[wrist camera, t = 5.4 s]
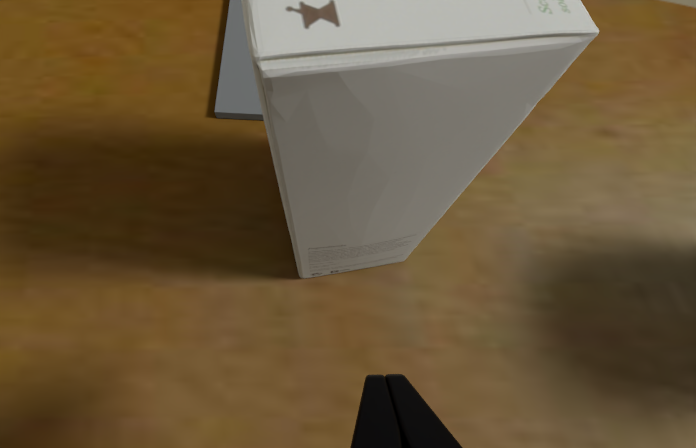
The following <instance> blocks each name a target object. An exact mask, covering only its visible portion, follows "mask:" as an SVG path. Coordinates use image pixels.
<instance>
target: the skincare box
mask: <svg viewBox="0 0 696 448" xmlns="http://www.w3.org/2000/svg"><path fill="white" fill-rule="evenodd" d="M241 2H242V9H243V17H244V23H245V30H246V36H247V42H248V48H249V52H250V56H251V60H252V65H253V71H254V76H255V81H256V85H257V90H258V95H259V100H260V104H261V109H262V114H263V118H264V123H265V127H266V131H267V136H268V140H269V145H270V149H271V154H272V158H273V163H274V168H275V172H276V177H277V181H278V185H279V190H280V194H281V199H282V203H283V207H284V212H285V216H286V220H287V225H288V229H289V233H290V237H291V241H292V246H293V250H294V255H295V260H296V264H297V269H298V273H299V276H300V277H301V278H310V277H317V276H323V275H329V274H335V273H341V272H347V271H352V270H358V269H363V268H369V267H375V266H380V265H386V264H391V263H396V262H402V261H404V260H405V259H406V258H407V257H408V256H409V254H410V253H411V252H412V251H413V250H414V249H415V247H416V246H417V245H418V244H419V243H420V241H421V240H422V239H423V238H424V237H425V235H426V234H427V233H428V232H429V231H430V230H431V228H432V227H433V226H434V225H435V224H436V223H437V221H438V220H439V219H440V218H441V217H442V216H443V215H444V213H445V212H446V211H447V210H448V208H449V207H450V206H451V205H452V204H453V203H454V201H455V200H456V199H457V198H458V197H459V195H460V194H461V193H462V192H463V191H464V190H465V188H466V187H467V186H468V185H469V184H470V183H471V181H472V180H473V179H474V178H475V177H476V175H477V174H478V173H479V172H480V171H481V170H482V168H483V167H484V166H485V165H486V164H487V163H488V161H489V160H490V159H491V158H492V157H493V156H494V155H495V153H496V152H497V151H498V150H499V149H500V148H501V147H502V145H503V144H504V143H505V142H506V140H507V139H508V138H509V137H510V136H511V134H512V133H513V132H514V131H515V130H516V128H517V127H518V126H519V125H520V124H521V123H522V122H523V121H524V119H525V118H526V117H527V116H528V114H529V113H530V112H531V111H532V109H533V108H534V107H535V105H536V104H537V102H538V101H539V100H540V99H542V98H543V97H544V95H545V94H546V93H547V92H548V91H549V90H550V89H551V88H552V86H553V85H554V84H555V83H556V81H557V80H558V79H559V78H560V77H561V76H562V75H563V73H564V72H565V71H566V70H567V69H568V68H569V66H570V65H571V64H572V63H573V62H574V60H575V59H576V58H577V57H578V56H579V55H580V53H581V52H582V51H583V50H584V49H585V48H586V46H587V45H588V44H589V43H590V42H591V41H592V40H593V39H594V38H595V37H596V36H597V35H598V33H599V29H598V28H597V27H596V25H595V24H594V22H593V21H592V19H591V17H590V15H589V14H588V12H587V10H586V8H585V7H584V5H583V4H582V2H581V0H241Z"/></svg>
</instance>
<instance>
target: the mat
mask: <svg viewBox="0 0 696 448" xmlns="http://www.w3.org/2000/svg"><path fill="white" fill-rule="evenodd" d="M214 112H215V115H216V117H217V118H228V119H248V120H264V118H263V114H262V109H261V104H260V100H259V95H258V90H257V85H256V81H255V76H254V71H253V65H252V60H251V56H250V52H249V48H248V42H247V36H246V30H245V23H244V17H243V9H242V2H241V0H230V3H229V10H228V18H227V25H226V32H225V39H224V46H223V54H222V61H221V68H220V75H219V82H218V90H217V97H216V104H215V111H214Z"/></svg>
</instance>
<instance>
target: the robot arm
mask: <svg viewBox="0 0 696 448" xmlns="http://www.w3.org/2000/svg"><path fill="white" fill-rule="evenodd" d="M351 448H462V447H461V445H460V444H459V443H458V442H457V440H456V439H455V438H454V437H453V435H452V434H451V433H450V432H449V431H448V429H447V428H446V427H445V426H444V424H443V423H442V422H441V421H440V419H439V418H438V417H437V416H436V414H435V413H434V412H433V411H432V409H431V408H430V407H429V406H428V404H427V403H426V402H425V401H424V399H423V398H422V397H421V396H420V395H419V393H418V392H417V391H416V390H415V388H414V387H413V386H412V385H411V383H410V382H409V381H408V380H407V378H406V377H405V376H404V375H402V374H388V375H386V376H385V377H384V376H383V375H367V376H366V379H365V383H364V388H363V392H362V397H361V402H360V406H359V411H358V416H357V420H356V425H355V429H354V434H353V439H352V443H351Z"/></svg>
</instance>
